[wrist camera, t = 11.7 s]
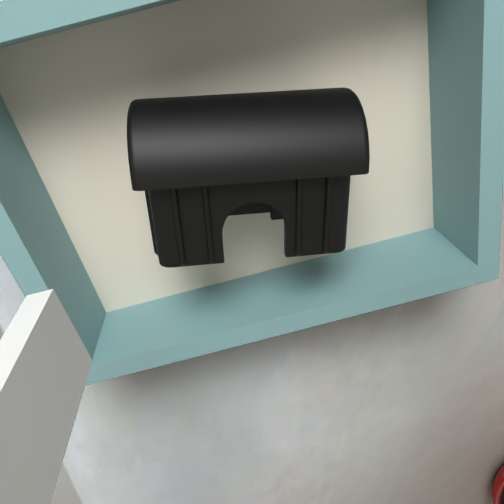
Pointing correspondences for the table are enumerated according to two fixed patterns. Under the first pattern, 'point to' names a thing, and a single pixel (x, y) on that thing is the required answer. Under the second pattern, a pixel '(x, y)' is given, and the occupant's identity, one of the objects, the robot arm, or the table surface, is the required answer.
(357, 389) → the table surface
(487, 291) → the table surface
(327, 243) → the end cap
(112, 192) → the walled box
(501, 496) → the plant pot
